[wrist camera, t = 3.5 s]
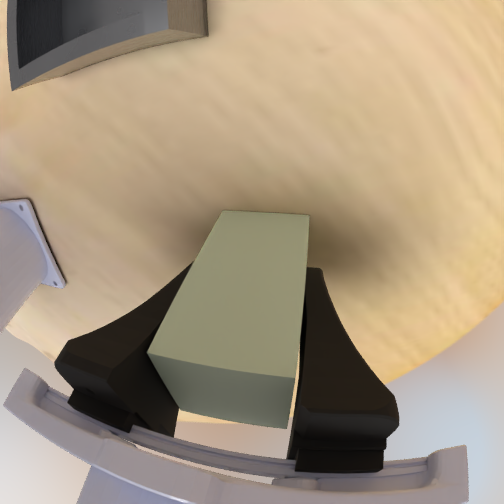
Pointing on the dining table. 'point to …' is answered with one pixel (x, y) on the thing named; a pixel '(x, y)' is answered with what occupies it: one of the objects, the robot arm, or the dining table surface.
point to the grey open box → (91, 32)
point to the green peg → (238, 321)
